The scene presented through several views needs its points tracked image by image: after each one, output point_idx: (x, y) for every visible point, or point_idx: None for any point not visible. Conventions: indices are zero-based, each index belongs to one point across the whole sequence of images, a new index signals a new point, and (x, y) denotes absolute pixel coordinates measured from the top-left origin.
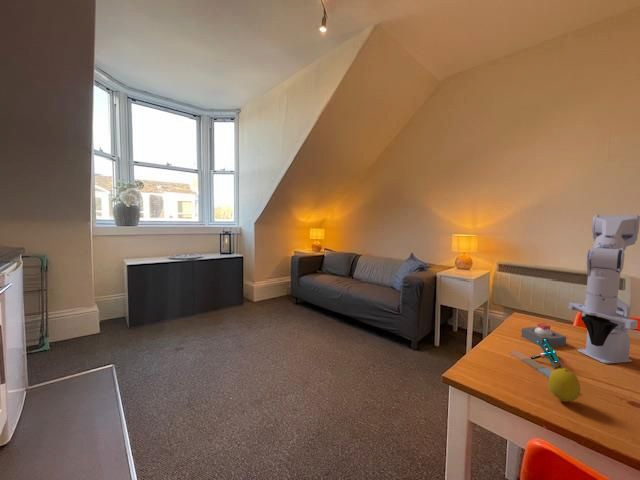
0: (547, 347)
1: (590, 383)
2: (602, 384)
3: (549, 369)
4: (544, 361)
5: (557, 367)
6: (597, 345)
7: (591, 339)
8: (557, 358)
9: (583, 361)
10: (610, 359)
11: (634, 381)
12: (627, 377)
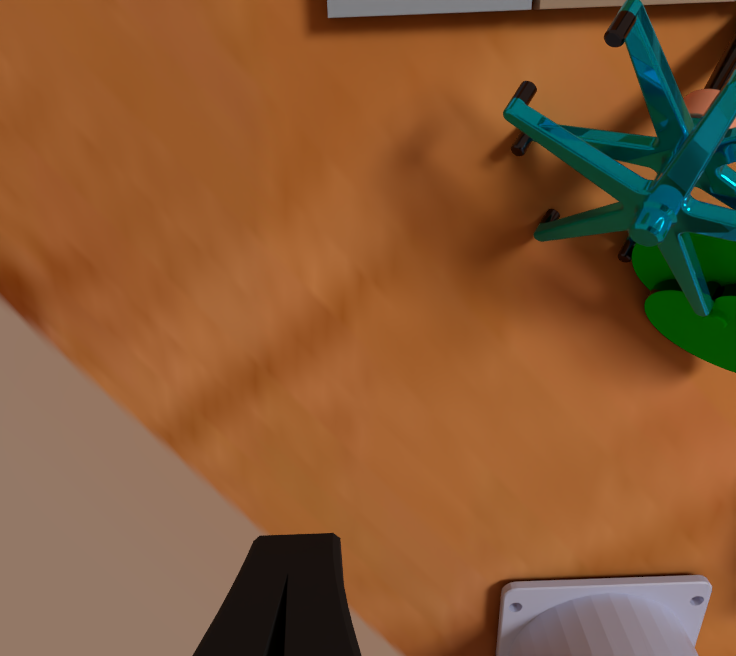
0: (703, 115)
1: (265, 236)
2: (250, 319)
3: (494, 8)
4: None
5: (512, 146)
6: (249, 554)
7: (316, 590)
8: (650, 304)
9: (571, 487)
10: (518, 645)
11: None
12: None
